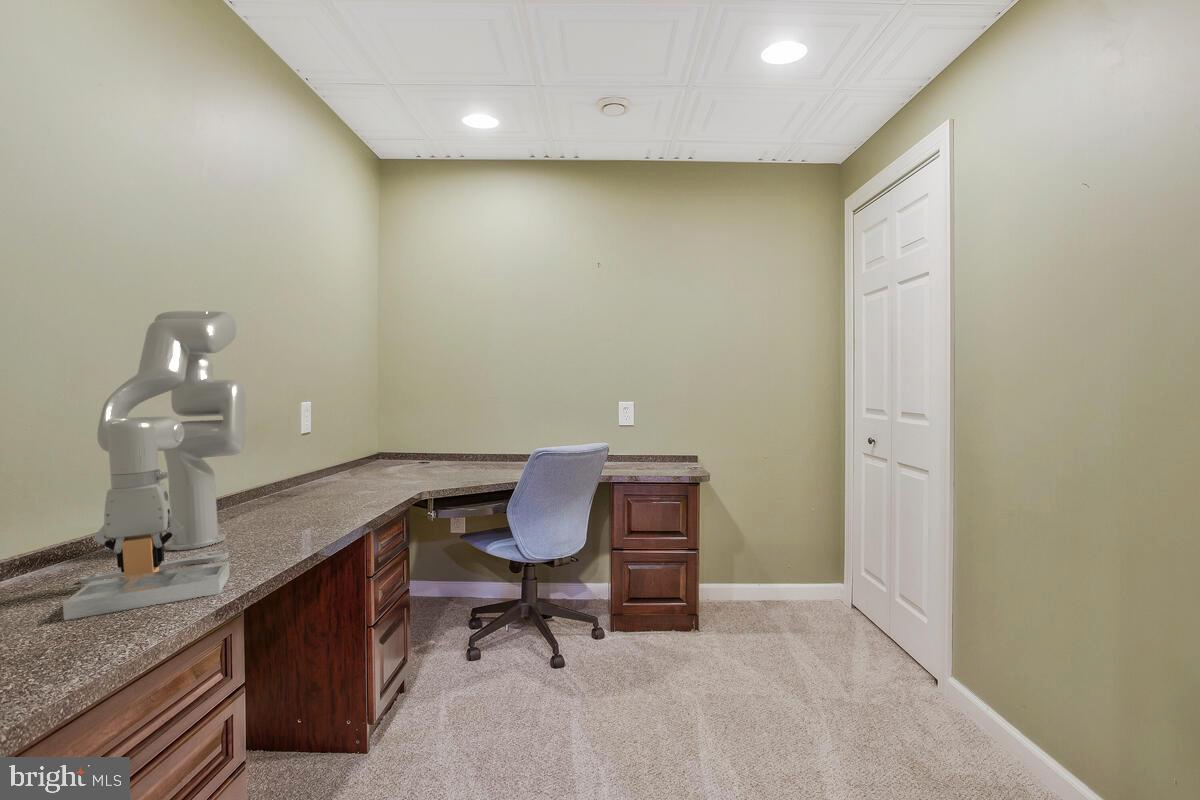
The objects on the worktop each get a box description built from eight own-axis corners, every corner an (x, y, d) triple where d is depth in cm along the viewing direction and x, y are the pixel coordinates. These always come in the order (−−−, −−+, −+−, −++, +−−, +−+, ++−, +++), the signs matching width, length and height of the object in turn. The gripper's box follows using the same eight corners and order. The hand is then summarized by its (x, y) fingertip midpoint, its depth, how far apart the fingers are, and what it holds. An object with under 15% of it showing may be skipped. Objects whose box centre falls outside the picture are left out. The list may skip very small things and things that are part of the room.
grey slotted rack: (78, 587, 110) (77, 579, 110) (87, 579, 116) (86, 570, 116) (226, 562, 123) (226, 554, 123) (228, 555, 129) (228, 547, 129)
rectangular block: (132, 574, 112) (129, 536, 112) (159, 570, 114) (156, 532, 114) (124, 581, 108) (122, 542, 108) (153, 576, 110) (150, 538, 110)
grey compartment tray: (91, 597, 103) (90, 581, 103) (229, 575, 113) (229, 560, 113) (63, 620, 92) (62, 603, 92) (219, 593, 102) (218, 578, 102)
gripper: (190, 473, 118) (196, 555, 118) (88, 482, 110) (95, 570, 111) (182, 478, 111) (188, 565, 112) (73, 488, 103) (80, 582, 104)
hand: (141, 566), depth 111 cm, fingers closed on rectangular block, 4 cm apart
